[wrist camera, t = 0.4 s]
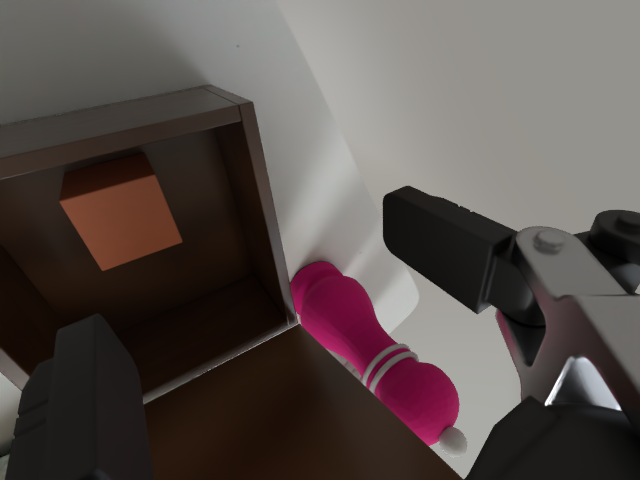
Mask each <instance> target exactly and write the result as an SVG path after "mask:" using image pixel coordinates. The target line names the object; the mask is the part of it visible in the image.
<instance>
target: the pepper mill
mask: <svg viewBox="0 0 640 480" xmlns="http://www.w3.org/2000/svg"><path fill="white" fill-rule="evenodd" d="M290 287H291V292H292V297H293V302H294V306H295V310H296V312H297V313H298V314H299V315H300V318H301V325H302V327H303V328H304V329H305V330H307V331H308V332H309V333H310V334H311V335H312V336H313V337H314V338H315V339H316V340H317V341H318V342H319V343H320V344H321V345H322V346H323V347H324V348H326V349H328V350H330V351H333V352H335V353H337V354H339V355H340V356H342V357H344V358H345V359H346V360H348V361H349V362H350V363H352V365H353V366H354V367H355V368H356V369H357V370H358V372H359V373H360V375H361V376H362V378H363V379H362V384H363V385H364V386H366V387H367V388H368V389H369V390H370V391H371V392H372V393H373V394H374V395H375V396H376V397H377V398H378V399H379V400H380V401H381V402H382V403H383V404H384V405H386V406H387V407H388V408H389V409H390V410H391V411H392V412H393V413H394V414H395V415H396V416H397V417H398V418H399V419H400V420H401V421H402V422H403V423H405V424H406V425H407V426H408V427H409V428H410V429H411V430H412V431H413V432H414V433H415V434H416V435H417V436H418V437H419V438H420V439H421V440H422V441H423V442H425V443H426V444H427V445H428V446H430V445H432V444H434V443H437V442H438V441H439V444H440V446H441V448H442V450H443V451H444V452H445V453H446V454H447V455H449V456H451V457H455V458H456V457H460V456H462V455H463V454H464V453H465V452H466V449H467V441H466V438H465V436H464V434H463V433H462V432H461V431H460V430H458V429H456V428H454V427H453V425H454V423H455V421H456V419H457V417H458V412H459V398H458V393H457V391H456V388H455V386H454V384H453V383H452V382H451V380H450V378H449V377H448V376H447V375H446V374H445V373H444V372H443V371H442V370H441V369H439V368H438V367H436V366H434V365H433V364H429V363H422V362H419V359H418V356H417V355H416V354H415V353H414V352H411V351H410V348H409V347H408V346H407V345H405V344H398V343H396V342H395V341H394V340H393V339H392V338H391V337H390V336H389V335H388V334H387V333H386V332H385V331H384V329H383V328H382V327H381V325H380V324H379V322H378V320H377V318H376V315H375V312H374V309H373V306H372V303H371V300H370V298H369V296H368V294H367V292H366V291H365V289H364V288H363V287H362V286H361V285H360V284H359V283H358V282H357V281H356V280H354V279H353V278H350V277H347V276H343V275H342V273H341V272H340V271H339V270H338V269H337V268H335V267H334V266H333V265H332V264H330V263H328V262H315V263H312V264H310V265H308V266H306V267H305V268H303V269H302V270H300V271H299V273H298V274H297V275H296V276H295V277H294V278H293V280H292V282H291V284H290Z"/></svg>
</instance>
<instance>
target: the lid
mask: <svg viewBox="0 0 640 480" xmlns="http://www.w3.org/2000/svg"><path fill="white" fill-rule="evenodd" d="M144 410H145V417H146V424H147V431H148V438H149V445H150V452H151V459H152V466H153V473H154V480H464V479H462V478H461V477H460V476H459V475H458V474H457V473H456V472H455V471H454V470H453V469H452V468H451V467H450V466H449V465H448V464H447V463H446V462H445V461H443V460H442V459H441V458H440V457H439V456H438V455H437V454H436V453H435V452H434V451H433V450H432V449H431V448H430V447H429V446H428V445H427V444H426V443H425V442H423V441H422V440H421V439H420V438H419V437H418V436H417V435H416V434H415V433H414V432H413V431H412V430H411V429H410V428H409V427H408V426H407V425H406V424H405V423H403V422H402V421H401V420H400V419H399V418H398V417H397V416H396V415H395V414H394V413H393V412H392V411H391V410H390V409H389V408H388V407H387V406H386V405H384V404H383V403H382V402H381V401H380V400H379V399H378V398H377V397H376V396H375V395H374V394H373V393H372V392H371V391H370V390H369V389H368V388H367V387H366V386H364V385H363V384H362V383H361V382H360V381H359V380H358V379H357V378H356V377H355V376H354V375H353V374H352V373H351V372H350V371H349V370H348V369H347V368H346V367H344V366H343V365H342V364H341V363H340V362H339V361H338V360H337V359H336V358H335V357H334V356H333V355H332V354H331V353H330V352H329V351H328V350H327V349H326V348H324V347H323V346H322V345H321V344H320V343H319V342H318V341H317V340H316V339H315V338H314V337H313V336H312V335H311V334H310V333H309V332H308V331H307V330H305V329H304V328H303V327H302V326H301V325H300V324H298V325H296V326H294V327H292V328H290V329H288V330H286V331H284V332H282V333H281V334H279V335H277V336H275V337H273V338H271V339H269V340H267V341H265V342H263V343H261V344H259V345H257V346H256V347H254V348H252V349H250V350H248V351H246V352H244V353H242V354H240V355H238V356H236V357H234V358H232V359H230V360H229V361H227V362H225V363H223V364H221V365H219V366H217V367H215V368H213V369H211V370H209V371H207V372H205V373H204V374H202V375H200V376H198V377H196V378H194V379H192V380H190V381H188V382H186V383H184V384H182V385H180V386H179V387H177V388H175V389H173V390H171V391H169V392H167V393H165V394H163V395H161V396H159V397H157V398H155V399H153V400H152V401H150V402H148V403H146V404H144Z"/></svg>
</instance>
